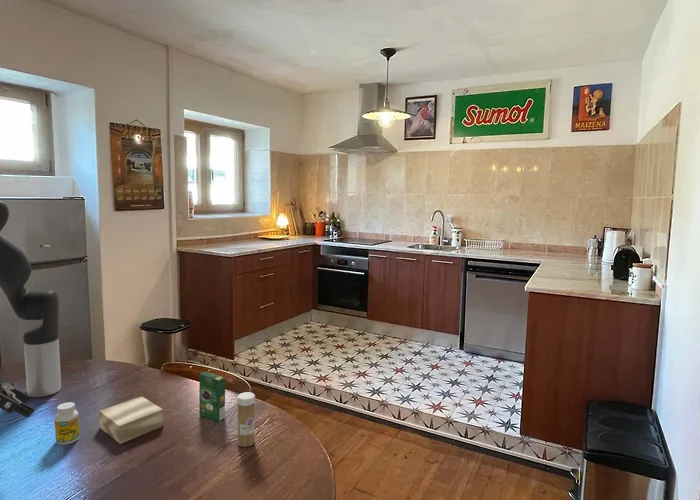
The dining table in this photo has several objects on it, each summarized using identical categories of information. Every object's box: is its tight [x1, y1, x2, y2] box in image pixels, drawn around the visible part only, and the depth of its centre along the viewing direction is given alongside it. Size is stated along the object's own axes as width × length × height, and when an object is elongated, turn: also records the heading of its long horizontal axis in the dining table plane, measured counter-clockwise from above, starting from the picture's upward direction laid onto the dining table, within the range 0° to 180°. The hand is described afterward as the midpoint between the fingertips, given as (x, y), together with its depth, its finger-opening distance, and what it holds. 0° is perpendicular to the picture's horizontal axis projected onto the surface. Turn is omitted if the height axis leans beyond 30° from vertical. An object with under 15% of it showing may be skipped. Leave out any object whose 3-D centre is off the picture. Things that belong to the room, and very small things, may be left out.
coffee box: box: [198, 371, 226, 423], centre depth 132 cm, size 8×3×13 cm, turn 63°
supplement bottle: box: [54, 401, 81, 446], centre depth 118 cm, size 5×5×10 cm
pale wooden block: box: [98, 395, 164, 445], centre depth 126 cm, size 12×12×5 cm
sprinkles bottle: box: [236, 391, 256, 448], centre depth 119 cm, size 5×5×13 cm
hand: (29, 406), depth 112 cm, fingers open, 8 cm apart
